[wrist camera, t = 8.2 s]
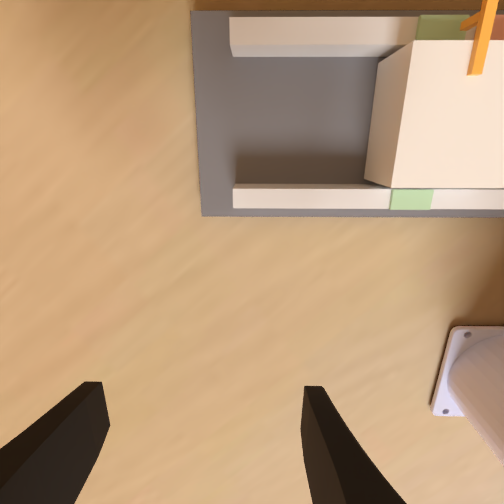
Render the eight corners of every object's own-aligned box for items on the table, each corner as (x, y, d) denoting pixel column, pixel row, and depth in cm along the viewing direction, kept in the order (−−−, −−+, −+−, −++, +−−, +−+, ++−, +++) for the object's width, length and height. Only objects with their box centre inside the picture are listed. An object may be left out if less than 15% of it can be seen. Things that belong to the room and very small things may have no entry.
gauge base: (627, 19, 15) (801, -39, 11) (559, 213, 19) (666, 238, 14) (195, 20, 16) (167, -36, 11) (205, 211, 19) (187, 236, 14)
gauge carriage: (546, 29, 14) (644, -9, 11) (504, 179, 17) (573, 189, 13) (382, 29, 15) (425, -9, 11) (363, 178, 17) (393, 188, 13)
